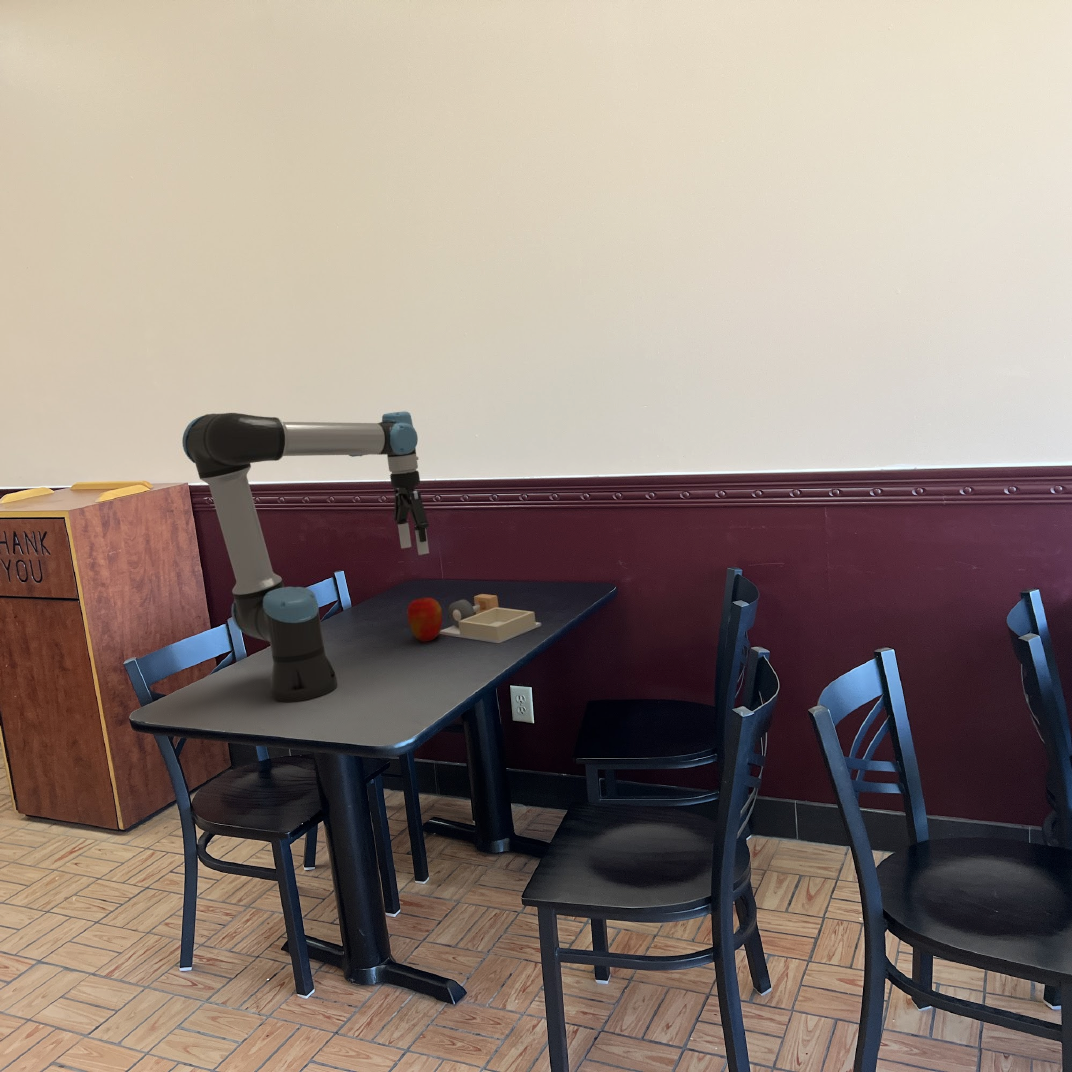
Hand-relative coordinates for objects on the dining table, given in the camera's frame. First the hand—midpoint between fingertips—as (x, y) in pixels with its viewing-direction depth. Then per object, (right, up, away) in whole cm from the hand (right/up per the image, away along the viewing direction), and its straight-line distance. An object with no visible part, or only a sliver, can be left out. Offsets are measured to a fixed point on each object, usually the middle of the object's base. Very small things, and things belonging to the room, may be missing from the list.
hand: (414, 550), depth 258 cm
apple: (+4, -23, -4) cm, 24 cm away
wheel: (+14, -20, +2) cm, 24 cm away
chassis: (+20, -21, -2) cm, 29 cm away
